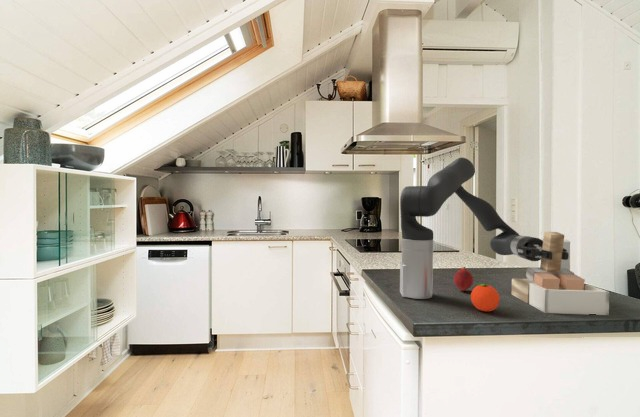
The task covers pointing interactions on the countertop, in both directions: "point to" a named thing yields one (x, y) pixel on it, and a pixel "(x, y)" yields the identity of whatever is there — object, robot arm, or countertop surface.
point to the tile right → (571, 282)
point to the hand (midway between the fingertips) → (558, 255)
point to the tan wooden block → (524, 288)
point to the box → (570, 300)
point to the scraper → (553, 266)
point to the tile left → (546, 280)
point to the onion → (463, 279)
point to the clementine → (485, 297)
